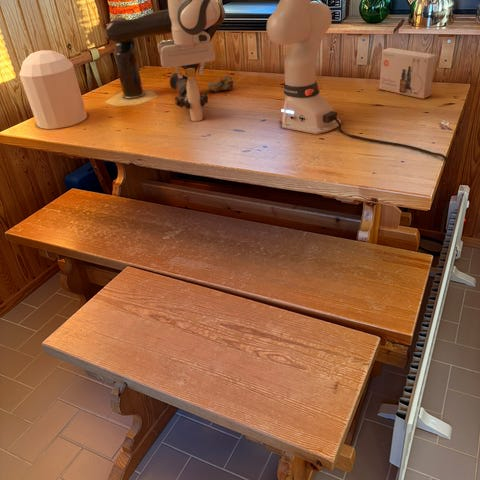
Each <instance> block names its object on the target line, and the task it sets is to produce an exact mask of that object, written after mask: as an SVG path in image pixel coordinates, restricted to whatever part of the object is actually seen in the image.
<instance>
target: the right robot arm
mask: <svg viewBox="0 0 480 480" xmlns="http://www.w3.org/2000/svg"><path fill="white" fill-rule="evenodd" d="M218 3H219V2H218V1H217V0H167V9H169V16H170V19H171V22H172V33H171V35H172V39H166V40H161V41H160V42H158V44H157V51H158V53H159V56H160V65H161V67H162V68H163V69H171V68H173V70H174V71H175V73H178V78H179V79H180V78H183V76H182V75H183V73H182V72H180V71H179V67H182V66H184V65H190V64H197V63H200V64H199V66H200V67H199V69H197V74H198V75H197V76H203V75H204V73H203V70H204V67H205V66H206V65H205V63H210V62H214V61H216V52H215V47H214V44H213V43H212V41H210V35H209V34H208V33H206V32H203V30H204V29H206V28H208V27H210V26H211V25H213V24H215V23H216V22H217V21H218V19H219V17H220V6H219V4H220V3H219V4H218ZM332 21H333V18H332V11H331V9H330V7H329V6H328V5H327V4H325V3H323V2H316V1H315V2H313V1H312V0H279V2H278V4H277V6H276V7H275V9H274V11H273V12H272V13H271V15H270V16H269V17H268V19H267V22H266V35H267V37H268V39H269V40H270V42H271V43H272V44H274V45H276V46H292V47H291V49H290V51H289V53H288V54H287V55H286V57H285V59H284V62H283V67H284V68H283V69H284V82H283V89H282V90H283V94H284V103H283V108H282V109H281V113H282V116H281V120H280V121H281V128H282V129H288V130H292V131H298V132H303V133H309V134H313V135H314V134H315V135H319V134H324V133H328V132H331V131H332V130H335V129H337V128H338V131H339V132H340V133H341V134H343V135H345V136H347V137H349V138H355V139H359V140H364V141H368V142H373V143H374V142H375V143H378V144H379V143H380V144H385V145H393V146H398V147H403V148H408V149H412V150H416V151H419V152H422V153H426V154H428V155H432V156H439V157H441V158H442V159H443V160H444V161H445V163H450V160H449V159H448V157H447V156H446V155H444V154H443V153H440V152H434V151H430V150H427V149H425V148H420V147H418V146H413V145H409V144H405V143H404V144H403V143H400V142H399V143H398V142H393V141H385V140H381V139H376V138H375V139H374V138H368V137H364V136H359V135H355V134H348V133H345V132H344V131H343V130H342V127H341V126H342V125H341V124H342V120H341V119H340V118H338V111H335V110H334V109H335V108H334V106H333V105H332V104H331V103H330V102H329V101H328V100H327V99H326V98H325V97H324V96H323V95H322V94H321V93H320V90H321V89H322V86H323V85H322V84H320V85H319V84H318V81H317V59H318V54H319V51H320V48H321V44H322V41H323V38H324V37H325V35H326V33H327V32H328V31H329V29H330V27H331V25H332ZM449 201H450V200H448V201H446V202H445V206H444V211H443V215H442V221H441V225H440V235H443V233H444V228H445V223H446V217H447V213H448V208H449V203H450V202H449Z"/></svg>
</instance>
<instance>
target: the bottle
mask: <svg viewBox="0 0 480 480" xmlns="http://www.w3.org/2000/svg"><path fill="white" fill-rule="evenodd" d="M186 90H187V97H188V102H189V104H190V109H188V110H189V116H190V121H191V122H199V121H202V120H203V119H204V115H203V109H202V108H203V107H202V106H201V100H200V94H201V93H200V86H199V84H198V81H197V79H196V76H195V77H188V79H187V86H186Z"/></svg>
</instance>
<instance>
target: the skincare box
mask: <svg viewBox="0 0 480 480" xmlns="http://www.w3.org/2000/svg"><path fill="white" fill-rule="evenodd" d="M436 57H437V54H435V53H427V52H423V51H422V52H420V51H413V50H407V49H400V48H395V47H394V48H393V47H387V48H385V49H382V50H381V61H380V74H379V86H378V87H379V88H378V89H379V90H383V91H387V92H391V93H395V94H399V95H405V96H409V97H414V98H418V99H422V100H424V99H426V98H428V97H430V96H431V91H432V86H433V85H432V84H433V78H434V73H435V72H434V71H435V70H434V69H435V64H436Z"/></svg>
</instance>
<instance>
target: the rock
mask: <svg viewBox="0 0 480 480" xmlns="http://www.w3.org/2000/svg"><path fill="white" fill-rule="evenodd" d="M207 86H208V90H210V92H213V93H218V92H224V91H230V90H231V89H232V88H233V86H234V81H233V79H232V77H231V75H229V74H227V75H225V76H223V77H221V78H220V80H218V81H210V82H208V84H207Z"/></svg>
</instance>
